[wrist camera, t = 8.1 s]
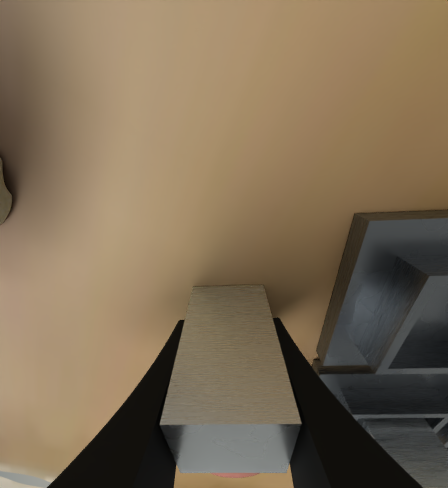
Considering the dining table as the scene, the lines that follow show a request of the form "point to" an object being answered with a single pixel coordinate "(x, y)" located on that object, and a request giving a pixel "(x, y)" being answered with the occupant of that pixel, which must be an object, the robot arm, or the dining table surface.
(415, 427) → the billet
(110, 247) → the dining table surface
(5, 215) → the flower pot
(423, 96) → the dining table surface
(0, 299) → the dining table surface
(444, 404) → the pallet
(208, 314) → the billet
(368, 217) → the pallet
